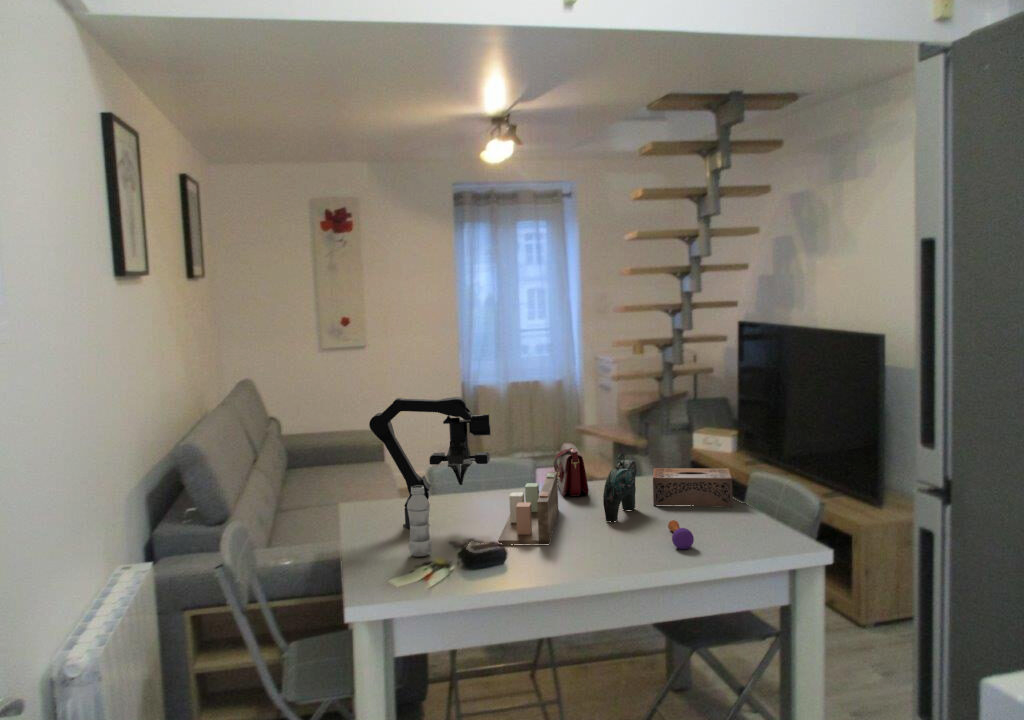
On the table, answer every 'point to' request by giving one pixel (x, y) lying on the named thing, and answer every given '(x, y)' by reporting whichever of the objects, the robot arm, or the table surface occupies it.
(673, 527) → the purple maraca
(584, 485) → the handbag
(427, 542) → the plastic bottle
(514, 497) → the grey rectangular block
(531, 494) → the pale green block
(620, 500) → the dark green arched piece
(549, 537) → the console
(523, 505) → the pink rectangular block
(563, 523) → the table surface
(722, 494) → the tissue box cover
